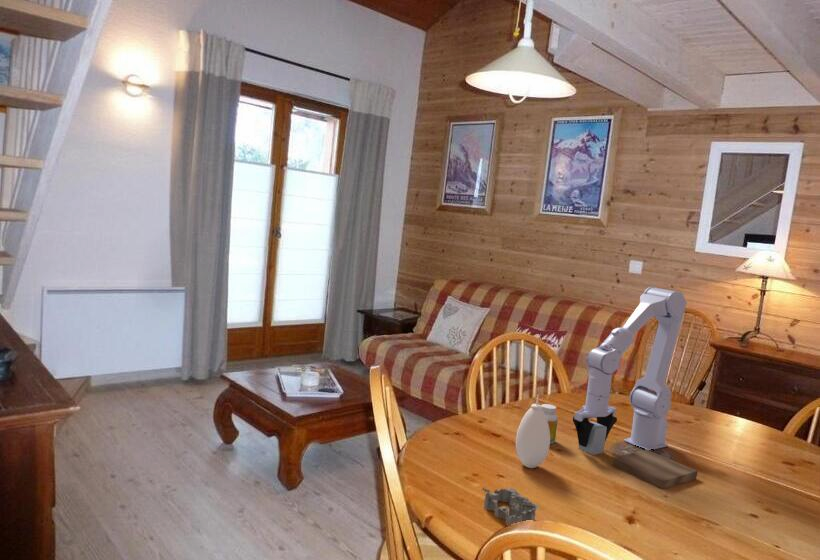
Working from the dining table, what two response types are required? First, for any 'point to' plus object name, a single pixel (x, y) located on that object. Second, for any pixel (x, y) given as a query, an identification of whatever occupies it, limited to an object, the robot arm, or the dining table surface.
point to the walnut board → (654, 469)
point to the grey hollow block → (510, 505)
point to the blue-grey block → (595, 440)
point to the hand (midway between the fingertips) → (591, 443)
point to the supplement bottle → (551, 420)
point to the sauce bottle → (533, 437)
